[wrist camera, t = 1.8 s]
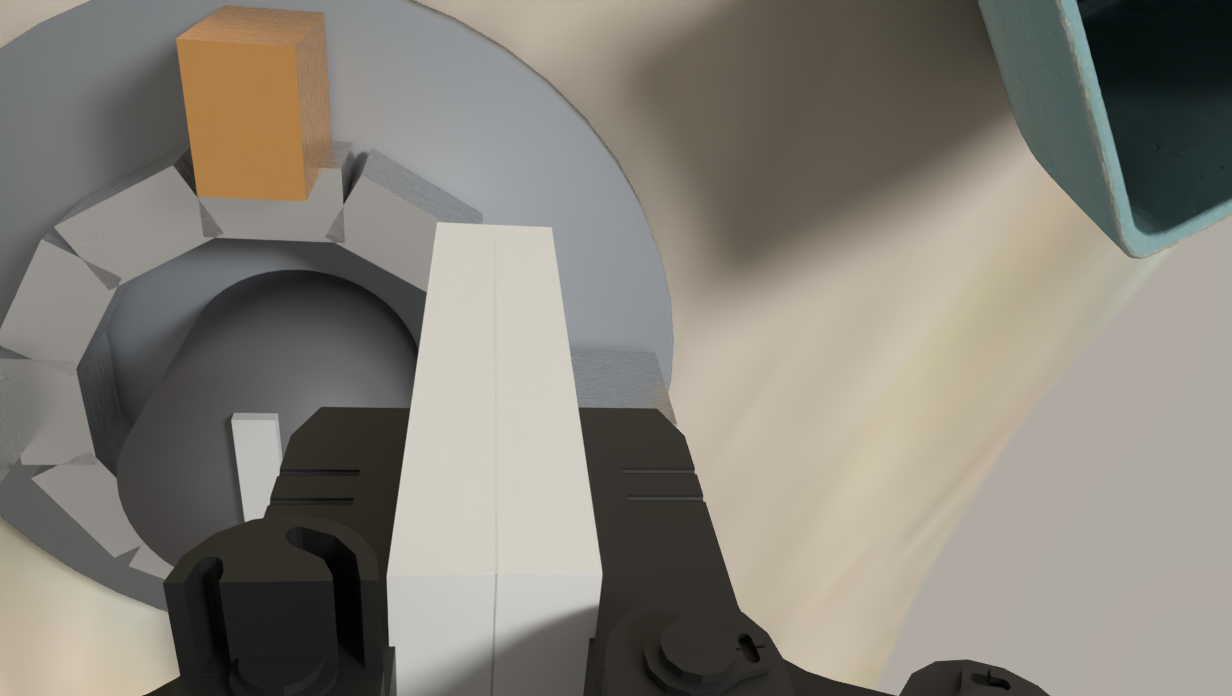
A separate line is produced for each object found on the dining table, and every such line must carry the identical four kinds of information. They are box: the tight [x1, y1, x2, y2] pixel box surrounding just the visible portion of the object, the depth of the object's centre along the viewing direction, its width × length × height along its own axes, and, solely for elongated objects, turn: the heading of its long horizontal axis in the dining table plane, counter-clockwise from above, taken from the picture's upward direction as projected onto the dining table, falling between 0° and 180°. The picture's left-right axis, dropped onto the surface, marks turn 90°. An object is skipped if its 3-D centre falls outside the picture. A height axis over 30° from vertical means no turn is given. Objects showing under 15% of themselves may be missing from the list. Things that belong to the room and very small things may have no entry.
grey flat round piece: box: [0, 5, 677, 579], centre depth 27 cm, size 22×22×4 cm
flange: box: [0, 0, 674, 611], centre depth 26 cm, size 23×23×8 cm
